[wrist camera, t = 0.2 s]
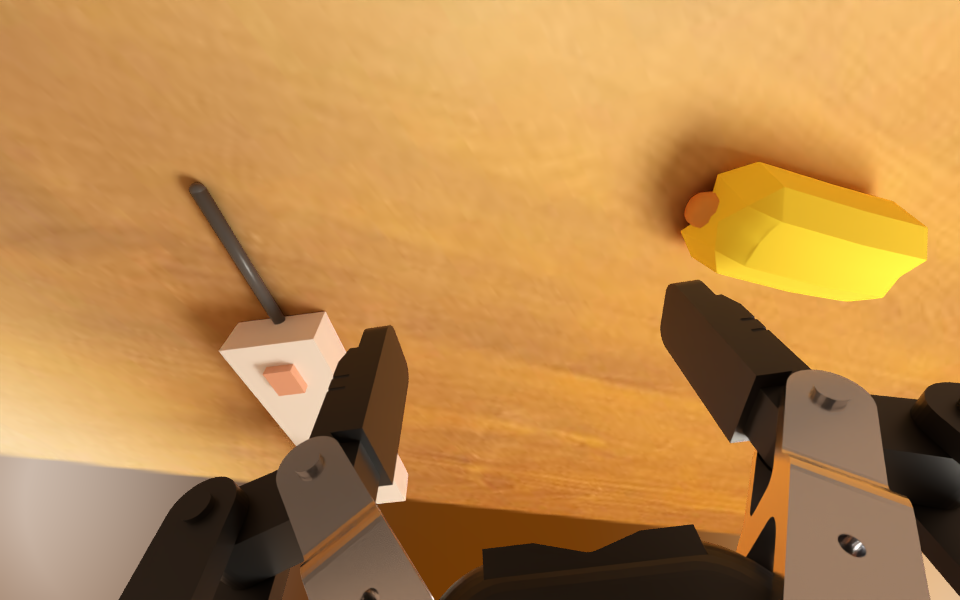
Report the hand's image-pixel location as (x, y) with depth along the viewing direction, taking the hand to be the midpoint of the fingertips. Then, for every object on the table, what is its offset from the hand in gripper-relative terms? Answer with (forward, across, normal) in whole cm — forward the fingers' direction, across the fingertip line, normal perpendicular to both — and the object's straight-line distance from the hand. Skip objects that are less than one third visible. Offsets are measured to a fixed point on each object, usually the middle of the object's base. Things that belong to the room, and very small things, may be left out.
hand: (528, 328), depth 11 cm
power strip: (+19, +20, +19) cm, 34 cm away
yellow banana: (+19, -22, +8) cm, 30 cm away
